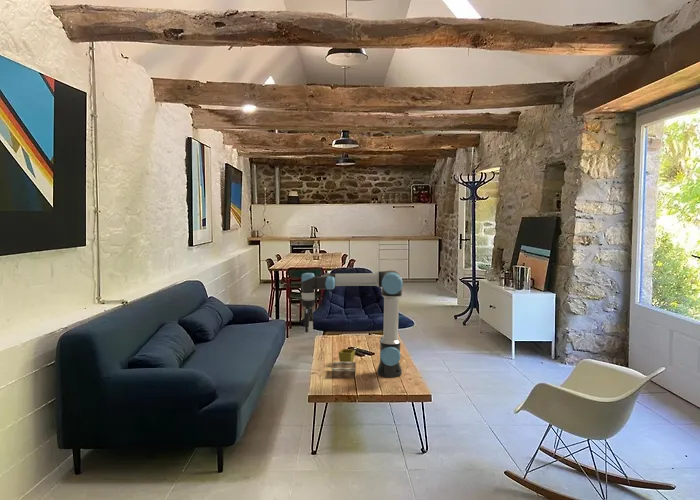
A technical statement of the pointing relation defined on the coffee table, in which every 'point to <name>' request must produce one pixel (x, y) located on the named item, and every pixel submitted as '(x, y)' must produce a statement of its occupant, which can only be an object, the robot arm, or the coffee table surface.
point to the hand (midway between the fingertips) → (308, 334)
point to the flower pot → (346, 355)
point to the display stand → (344, 370)
